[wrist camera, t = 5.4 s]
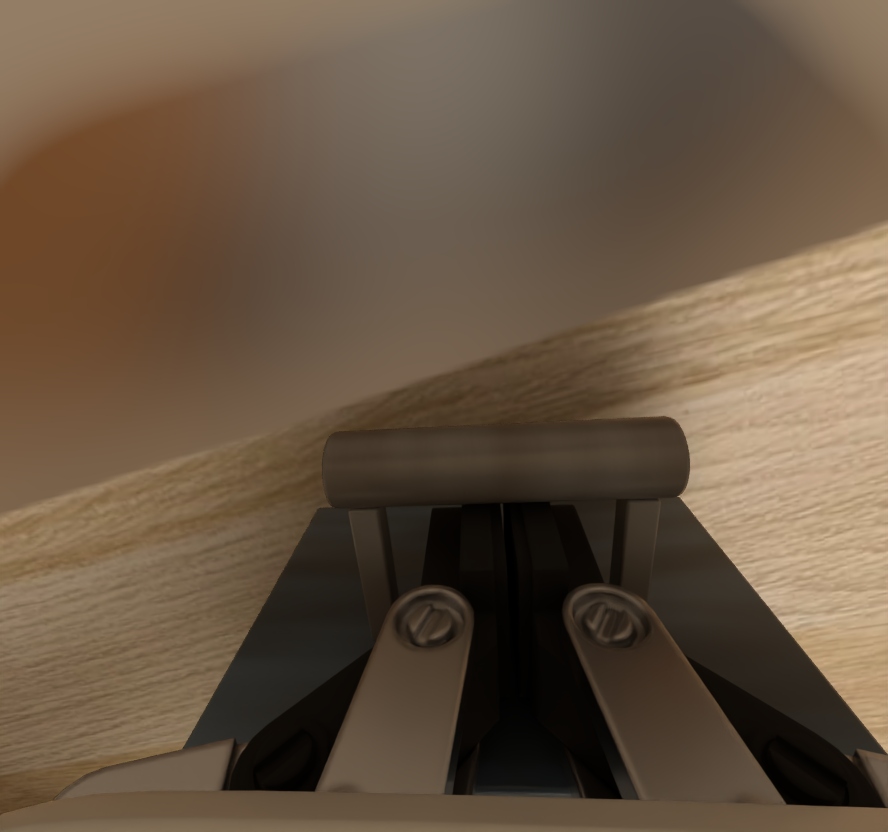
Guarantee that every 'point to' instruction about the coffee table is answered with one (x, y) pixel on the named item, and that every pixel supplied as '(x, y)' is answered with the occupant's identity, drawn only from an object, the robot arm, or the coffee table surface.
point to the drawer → (400, 570)
